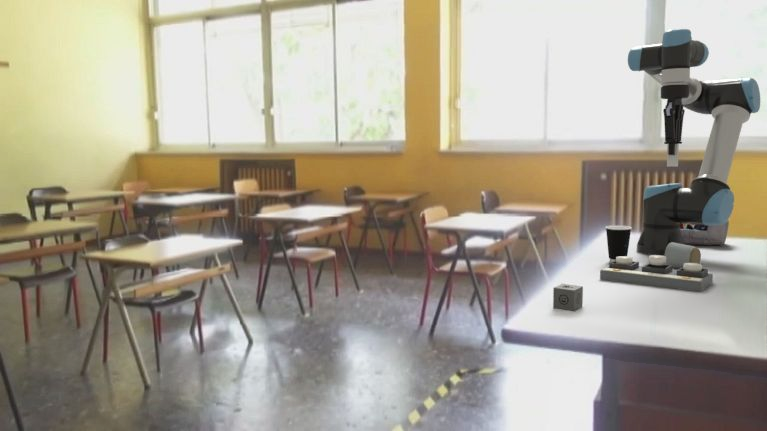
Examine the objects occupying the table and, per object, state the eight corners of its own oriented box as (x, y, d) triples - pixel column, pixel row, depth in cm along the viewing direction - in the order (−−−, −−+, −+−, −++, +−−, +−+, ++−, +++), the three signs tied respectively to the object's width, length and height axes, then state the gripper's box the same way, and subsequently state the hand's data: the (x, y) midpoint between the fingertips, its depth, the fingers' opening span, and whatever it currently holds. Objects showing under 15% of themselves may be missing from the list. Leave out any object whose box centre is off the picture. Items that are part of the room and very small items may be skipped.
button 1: (619, 262, 186) (619, 255, 185) (634, 264, 183) (634, 257, 183) (613, 264, 182) (613, 258, 182) (629, 266, 179) (629, 259, 179)
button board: (615, 271, 189) (615, 258, 188) (712, 282, 172) (713, 268, 172) (600, 279, 180) (600, 265, 179) (700, 291, 163) (701, 276, 163)
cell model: (730, 217, 223) (667, 216, 232) (729, 247, 225) (667, 246, 233) (728, 212, 235) (668, 212, 244) (727, 241, 236) (668, 240, 245)
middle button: (651, 261, 180) (651, 254, 180) (668, 263, 177) (668, 256, 177) (646, 264, 176) (646, 257, 176) (663, 266, 174) (663, 258, 173)
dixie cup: (634, 263, 200) (635, 228, 199) (608, 263, 201) (609, 228, 199) (626, 259, 208) (627, 225, 207) (601, 259, 209) (602, 225, 207)
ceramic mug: (691, 272, 185) (692, 246, 185) (663, 269, 191) (664, 243, 191) (706, 268, 193) (707, 242, 192) (678, 264, 199) (679, 239, 198)
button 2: (685, 269, 174) (686, 262, 174) (703, 271, 171) (703, 264, 171) (681, 272, 171) (681, 264, 171) (699, 274, 168) (699, 266, 168)
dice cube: (562, 304, 154) (562, 283, 153) (582, 307, 151) (582, 286, 150) (553, 308, 150) (553, 287, 150) (573, 311, 147) (574, 290, 146)
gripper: (668, 86, 194) (665, 165, 196) (654, 84, 184) (652, 167, 187) (695, 85, 189) (692, 165, 192) (682, 82, 179) (679, 167, 182)
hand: (672, 166), depth 189 cm, fingers closed
